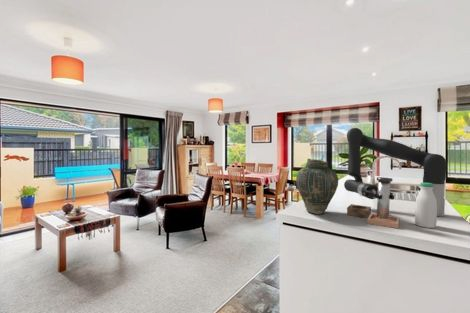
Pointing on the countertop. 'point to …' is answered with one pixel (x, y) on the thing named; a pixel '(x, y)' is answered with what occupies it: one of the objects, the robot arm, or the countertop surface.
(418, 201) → the milk bottle
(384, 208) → the clear bottle
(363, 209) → the socket block
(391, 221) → the dish
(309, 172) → the vase
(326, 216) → the countertop surface
